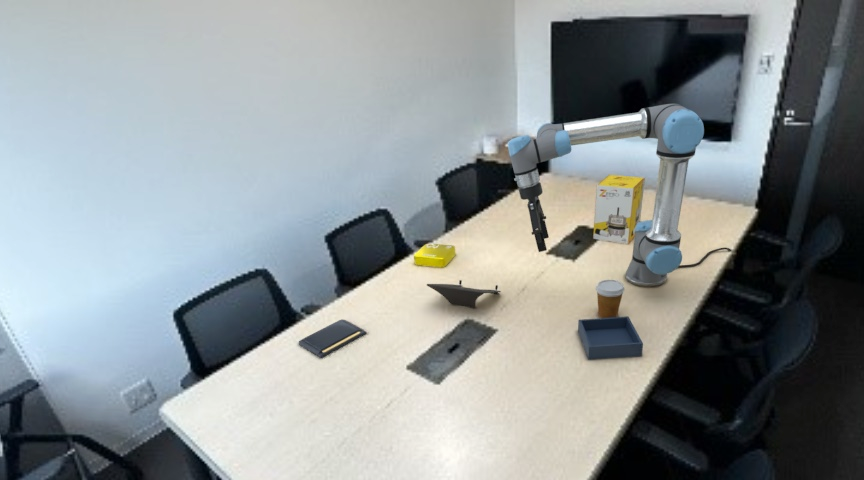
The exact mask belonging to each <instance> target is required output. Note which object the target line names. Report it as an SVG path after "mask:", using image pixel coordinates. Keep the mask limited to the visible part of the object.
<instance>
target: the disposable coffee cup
mask: <svg viewBox="0 0 864 480" xmlns="http://www.w3.org/2000/svg"><path fill="white" fill-rule="evenodd" d="M625 290H626V289H625V287H624V284H623V283H622V282H621V281H619V280H615V279H603V280H601V281H599V282H598V283H597V285H596V286H595V291H596V294H597V311H598V312H597V313H598V318H612V317H618V314H619V309H620V307H621V302H622V298H623V294H624V292H625Z"/></svg>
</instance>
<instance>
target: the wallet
mask: <svg viewBox="0 0 864 480" xmlns="http://www.w3.org/2000/svg"><path fill="white" fill-rule="evenodd" d="M364 335H367V331H365V330H364V329H362V328H360V327H359V326H357V325H355V324H353V323H352V322H350V321H348V320H346V319H339V320H336V321H335V322H333V323H331V324H329V325H327V326H324V327H323V328H321V329H319V330H317V331H315V332H313V333H312V334H310V335H308V336H305V337H304V338H301V339H299V341H298V344H299V346H301V347H302V348H304V349H305V350H307V351H309V352H311V353H312V354H314V355H315V356H317V357H318V358H320V359H322V358H324V357H326V356H328V355H330V354H331V353H333V352H335V351H337V350H339V349H340V348H343V347H344V346H346V345H347V344H350V343H352V342H354V341H355V340H357V339H359V338H361V337H363V336H364Z"/></svg>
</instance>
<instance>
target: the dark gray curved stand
mask: <svg viewBox="0 0 864 480" xmlns="http://www.w3.org/2000/svg"><path fill="white" fill-rule="evenodd" d="M426 286H427V287H428V288H431V289H433V290H434V291H435V292H437V293H438V294H440V295H441V296H442V297H443V298H445V300H447V302H448V303H449V304H450V305H451V306H458V307H466V308H470V309H477V306H476V301H477V300H478V299H479V297H481V296H483V295H484V294H493V295H496V296H500V293H501V292H502V290H498V289H499V285H498V284H496V285H495V286H494V287H495V288H494V289H479V288H472V287H466V286H464V285H462V279H460V280H459V281H458V284H453V283H426Z"/></svg>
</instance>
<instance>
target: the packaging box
mask: <svg viewBox="0 0 864 480" xmlns="http://www.w3.org/2000/svg"><path fill="white" fill-rule="evenodd" d="M645 183H646V177H641V176H630V175H629V176H628V175H619V174H608V175H607V176H605V177H604V178H603V179H602V180H600V182H598V183H597V184H596V189H595V204H594V218H593V219H594V220H593V221H594V222H593V233H592V234H593V235H592V240H597V241H605V242H610V243H611V242H612V243H618V244H623V245H624V244H625V245H629V244H630V243H631V241H632V240H634V236H635V229H636V225H637V223H639V222H641V218H642V209H643V200H644V191H645Z"/></svg>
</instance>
